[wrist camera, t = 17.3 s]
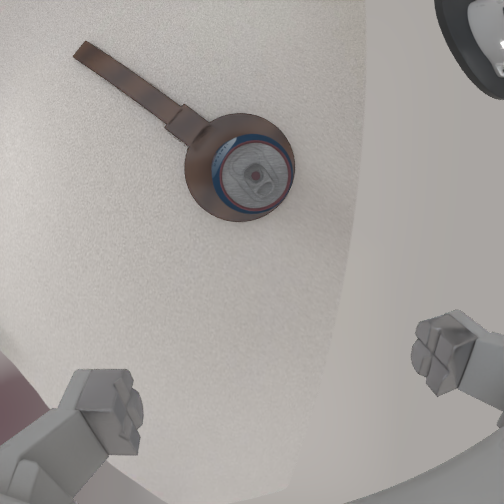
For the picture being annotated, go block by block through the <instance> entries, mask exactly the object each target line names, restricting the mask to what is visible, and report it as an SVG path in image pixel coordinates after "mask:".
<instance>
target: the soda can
mask: <svg viewBox="0 0 504 504" xmlns="http://www.w3.org/2000/svg"><path fill="white" fill-rule="evenodd" d="M211 170H212V181H213V185H214V188H215V191H216V193H217V195H218V196H219V198H220V199H221V200H222V201H223V202H224V203H225V204H226V205H227V206H228V207H230V208H231V209H233V210H235V211H238V212H241V213H245V214H259V213H263V212H266V211H269V210H271V209H273V208H274V207H276V206H277V205H278V204H280V203H281V202H282V201H283V199H284V198H285V197H286V195H287V194H288V192H289V190H290V187H291V184H292V179H293V168H292V163H291V160H290V157H289V155H288V154H287V152H286V151H285V149H284V148H283V147H282V146H281V145H280V144H279V143H278V142H277V141H275V140H273V139H272V138H270V137H267V136H264V135H260V134H246V135H241V136H238V137H236V138H234V139H231V140H229V141H227V142H225V143H224V144H223V145H222V146H220V148H219V149H218V150H217V151H216V153H215V155H214V157H213V160H212V166H211Z"/></svg>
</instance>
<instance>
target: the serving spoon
mask: <svg viewBox="0 0 504 504" xmlns="http://www.w3.org/2000/svg"><path fill="white" fill-rule="evenodd" d="M73 57H74V58H75V59H77V60H78V61H80V62H81V63H82V64H84V65H85V66H87V67H88V68H90V69H91V70H93V71H94V72H96V73H97V74H98V75H100V76H101V77H103V78H104V79H106V80H107V81H108V82H110V83H111V84H113V85H114V86H115V87H117V88H118V89H120V90H121V91H122V92H124V93H125V94H127V95H128V96H129V97H131V98H132V99H133V100H135V101H136V102H138V103H139V104H140V105H142V106H143V107H144V108H146V109H147V110H148V111H150V112H151V113H152V114H154V115H155V116H156V117H158V118H159V119H160V120H162V121H163V122H164V123H166V124H167V125H166V126H165V129H167V130H168V131H169V132H170V133H172V134H173V135H174V136H176V137H177V138H178V139H180V140H181V141H182V142H184V143H185V144H186V145H187V146H189V148H188V151H187V154H186V158H185V178H186V182H187V185H188V188H189V190H190V192H191V195H192V196H193V198H194V199H195V201H196V202H197V203H198V204H199V205H200V206H201V207H202V208H203V209H204V210H205V211H207V212H208V213H210V214H211V215H213V216H215V217H217V218H220V219H223V220H227V221H233V222H246V221H251V220H255V219H258V218H261V217H263V216H265V215H267V214H268V213H270V212H272V211H273V210H274V209H275V208H277V207H278V206H279V205H280V204H281V203H282V202H281V203H280V204H278V205H277V206H276V207H274V208H273V209H271V210H269V211H266V212H263V213H259V214H245V213H241V212H238V211H235V210H233V209H231V208H230V207H228V206H227V205H226V204H225V203H224V202H223V201H222V200H221V199H220V198H219V196H218V195H217V193H216V191H215V188H214V185H213V181H212V170H211V166H212V160H213V157H214V155H215V153H216V151H217V150H218V149H219V148H220V146H222V145H223V144H224V143H225V142H227V141H229V140H231V139H234V138H236V137H238V136H241V135H246V134H260V135H264V136H267V137H270V138H272V139H273V140H275V141H277V142H278V143H279V144H280V145H281V146H282V147H283V148H284V149H285V151H286V152H287V154H288V155H289V157H290V160H291V163H292V168H293V179H294V173H295V161H294V155H293V151H292V148H291V146H290V144H289V142H288V140H287V138H286V137H285V136H284V134H283V133H282V132H281V131H280V130H279V129H278V128H277V127H276V126H275V125H274V124H272V123H271V122H269V121H268V120H266V119H264V118H261V117H259V116H256V115H252V114H245V113H235V114H228V115H225V116H221V117H219V118H217V119H215V120H213V121H211V122H210V123H209V122H207V121H206V120H205V119H204V118H202V117H201V116H200V115H198V114H197V113H196V112H194V111H193V110H192V109H191V108H189V107H188V106H187V105H185V104H183V106H182V107H181V106H179V105H178V104H177V103H175V102H174V101H173V100H171V99H170V98H169V97H167V96H166V95H165V94H163V93H162V92H160V91H159V90H158V89H156V88H155V87H153V86H152V85H151V84H149V83H148V82H146V81H145V80H144V79H142V78H141V77H139V76H138V75H137V74H135V73H134V72H132V71H131V70H129V69H128V68H126V67H125V66H124V65H122V64H121V63H119V62H118V61H116V60H115V59H113V58H112V57H110V56H109V55H107V54H106V53H104V52H103V51H101V50H100V49H98V48H97V47H95V46H93V45H92V44H90V43H89V42H87V41H85V42H84V43H83V44H82V45H81V47H80V48H79V49H78V50H77V52H76V53H75V54H74V55H73ZM293 179H292V183H293ZM291 186H292V184H291ZM290 188H291V187H290ZM286 196H287V195H286ZM284 199H285V198H284ZM284 199H283V200H284Z"/></svg>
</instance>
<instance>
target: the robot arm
mask: <svg viewBox="0 0 504 504" xmlns="http://www.w3.org/2000/svg"><path fill="white" fill-rule="evenodd" d="M467 13H468V21H469V25H470V28H471V31H472V34H473V36H474V38H475V40H476V42H477V44H478V46H479V47H480V49H481V50H482V52H483V53H484V55H485V56H486V57H487V58H488V60H489V61H490V62H491V64H492V66H493V68H494V70H495V72H496V74H497V76H498V77H501V78H504V0H476V1H474V2H472V3H470V5H469V7H468V12H467ZM415 334H416V336H417V338H418V339H417V340H416V342H415V343H414V345H413V346H412V351H411V360H412V365H413V367H414V369H415V370H416V372H417V373H418V374H419V375H422V376H424V377H426V384H427V385H428V386H429V387H430V389H431V390H432V391H433V392H434V394H435V395H436V396H437V397H438V396H440V395H443V394H445V393H447V392H450V391H452V390H454V389H456V388H458V390H460V391H463V392H465V393H466V394H468V395H471V396H472V397H475V398H476V399H479V400H481V401H483V402H485V403H487V404H489V405H491V406H493V407H495V408H497V409H499V410H501V411H503V413H502V415H501V416H500V418H499V420H498V422H497V426H498V427H499V428H500V429H498V430H497V431H495V432H494V433H492V434H491V435H490V436H488V437H486V438H485V439H483V440H482V441H480V442H479V443H477V444H475V445H474V446H472V447H471V448H469V449H467V450H466V451H464V452H462V453H461V454H459V455H457V456H455V457H453V458H452V459H450V460H448V461H446V462H444V463H442V464H440V465H439V466H437V467H435V468H433V469H430V470H428V471H426V472H424V473H422V474H420V475H418V476H416V477H414V478H411V479H409V480H407V481H405V482H402V483H400V484H397V485H395V486H393V487H390V488H388V489H385V490H382V491H380V492H377V493H374V494H372V495H369V496H366V497H363V498H360V499H357V500H354V501H351V502H347V503H344V504H504V335H502V334H499V333H495V332H492V333H489V332H488V331H486V330H485V329H484V328H483V327H482V326H480V325H479V324H478V323H476V322H475V321H474V320H473V319H471V318H470V317H469V316H467V315H466V314H465V313H464V312H462V311H460V310H454V311H451V312H448V313H445V314H444V315H440V316H437V317H434V318H431V319H427V320H424V321H421V322H419V324H418V326H417V328H416V332H415ZM133 381H134V380H133V378H132V376H131V373H130V371H129V370H127V369H78V370H76V371H75V372H74V374H73V376H72V378H71V380H70V382H69V384H68V386H67V388H66V390H65V393H64V395H63V397H62V399H61V401H60V404H59V406H58V408H57V409H56V408H52V409H51V410H50V411H48V412H47V413H45V414H44V415H43V416H41V417H40V418H39V419H37V420H36V421H35V422H33V423H32V424H30V425H29V426H28V427H26V428H25V429H23V430H22V431H21V432H19V433H18V434H16V435H15V436H14V437H12V438H11V439H9V440H8V441H7V442H5V443H4V444H2V445H1V446H0V504H78V503H77V502H76V501H75V500H74V499H73V498H74V496H75V495H76V494H77V493H78V492H79V491H80V490H81V488H82V487H83V486H84V485H85V484H86V483H87V481H88V480H89V479H90V478H91V477H92V476H93V474H94V473H95V472H96V471H97V470H98V469H99V467H100V466H101V465H102V464H103V463H104V462H105V460H106V459H107V458H108V457H109V456H108V455H138V450H139V443H140V435H139V433H138V431H137V429H138V428H139V427H140V426H141V425H142V424H143V417H144V414H143V404H142V400H141V397H140V395H139V392H137V391H136V390H135V389H133V388H132V385H133Z"/></svg>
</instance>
